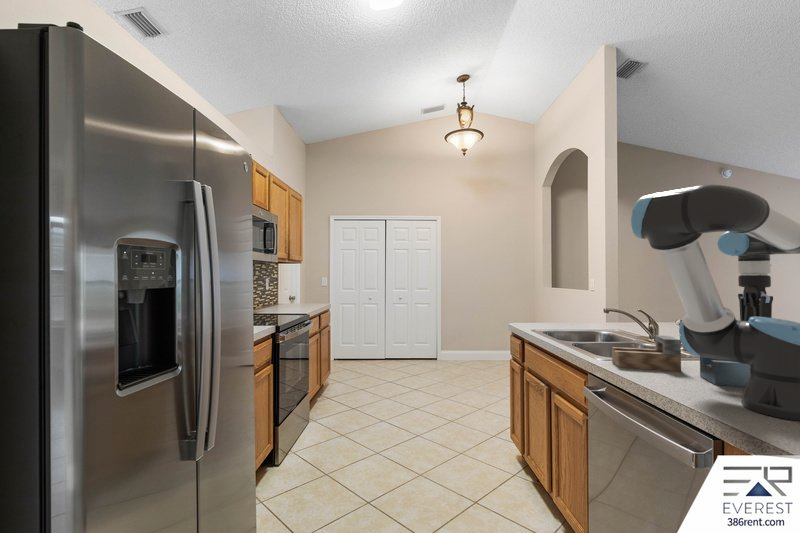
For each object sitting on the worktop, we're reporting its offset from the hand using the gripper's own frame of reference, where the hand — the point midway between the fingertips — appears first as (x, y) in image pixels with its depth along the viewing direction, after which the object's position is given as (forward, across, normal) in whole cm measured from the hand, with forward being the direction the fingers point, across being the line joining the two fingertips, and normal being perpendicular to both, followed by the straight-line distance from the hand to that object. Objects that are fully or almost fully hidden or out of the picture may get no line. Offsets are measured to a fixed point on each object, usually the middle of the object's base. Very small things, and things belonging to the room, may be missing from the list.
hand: (755, 348), depth 120 cm
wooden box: (+11, +16, +26) cm, 33 cm away
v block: (+11, 0, +8) cm, 14 cm away
